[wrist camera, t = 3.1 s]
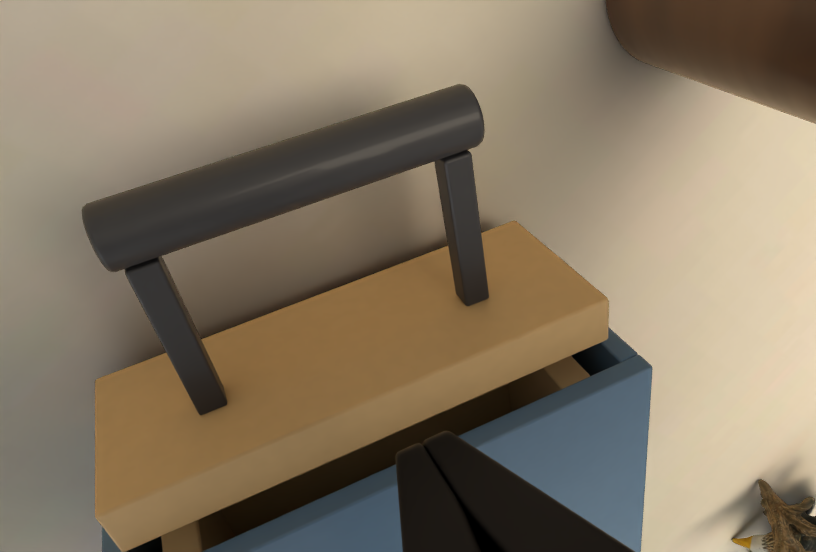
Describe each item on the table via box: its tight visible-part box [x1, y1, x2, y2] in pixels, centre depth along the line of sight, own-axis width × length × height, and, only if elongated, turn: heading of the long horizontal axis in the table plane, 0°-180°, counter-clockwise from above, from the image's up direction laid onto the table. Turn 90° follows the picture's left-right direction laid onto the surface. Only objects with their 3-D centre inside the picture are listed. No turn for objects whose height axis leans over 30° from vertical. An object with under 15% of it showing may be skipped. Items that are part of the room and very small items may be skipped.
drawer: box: [82, 84, 609, 552], centre depth 17 cm, size 18×11×4 cm, turn 9°
